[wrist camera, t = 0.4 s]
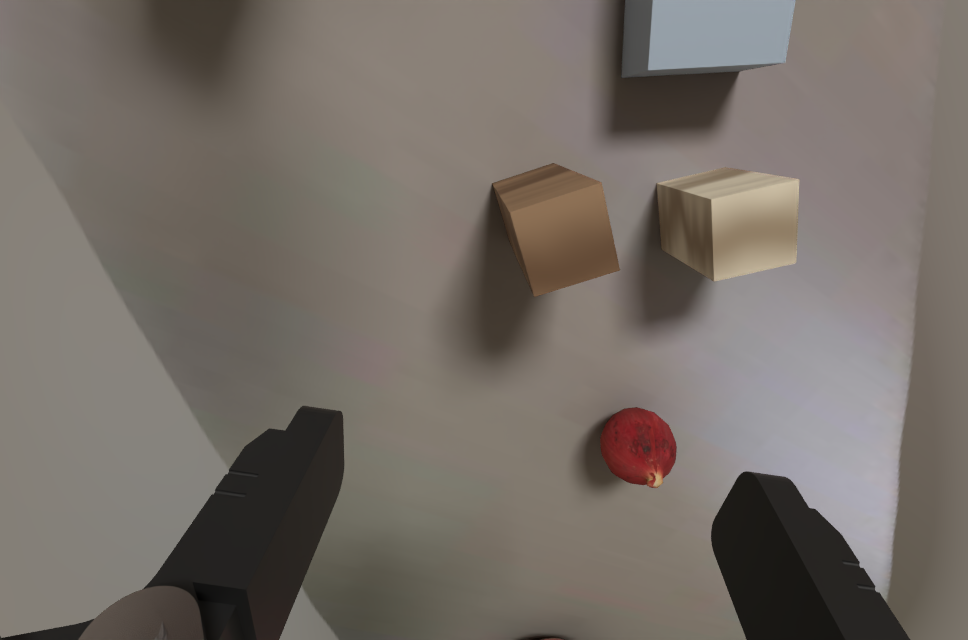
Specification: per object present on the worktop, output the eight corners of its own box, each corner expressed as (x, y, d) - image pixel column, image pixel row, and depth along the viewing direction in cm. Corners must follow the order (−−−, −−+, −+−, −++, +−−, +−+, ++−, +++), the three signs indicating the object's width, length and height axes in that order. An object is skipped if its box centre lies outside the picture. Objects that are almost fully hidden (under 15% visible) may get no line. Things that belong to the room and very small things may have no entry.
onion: (588, 395, 41) (617, 455, 34) (655, 385, 41) (699, 443, 34) (591, 450, 43) (619, 518, 36) (654, 441, 43) (695, 507, 36)
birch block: (656, 183, 35) (711, 199, 27) (725, 167, 34) (799, 179, 27) (661, 249, 36) (714, 281, 29) (726, 234, 36) (796, 263, 29)
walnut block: (492, 183, 34) (509, 212, 23) (553, 163, 34) (601, 182, 23) (509, 242, 36) (534, 296, 25) (568, 224, 35) (620, 270, 24)
